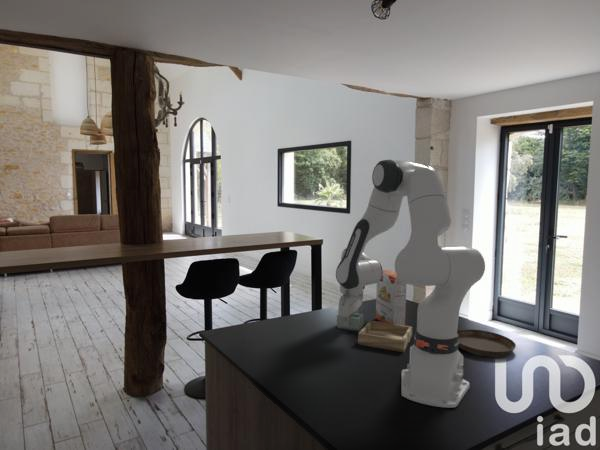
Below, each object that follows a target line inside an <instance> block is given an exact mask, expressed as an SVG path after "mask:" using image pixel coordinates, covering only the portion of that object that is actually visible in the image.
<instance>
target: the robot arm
mask: <svg viewBox="0 0 600 450" xmlns="http://www.w3.org/2000/svg"><path fill="white" fill-rule="evenodd" d="M371 177H372V178H371V179H372V185H373V189H372V191H371V194H370V197H369V201H368V206H367V208H366V209H365V212H364V214H363V215H362V217H361V218H360V219H359V221H357V222H356V224H355V226H354V228H353V230H352V233H351V235H350V237H349V238H350V239H349V241H348V243H347V246H346V248H344V249H343V250H342V252H341V255H340V256H341V257H340V262H339V263H338V264H337V267H336V271H335V279H336V281H337V282H338V284H339V292H340V293H341V294H342V295H341V296H340V297H339V301H338V309H337V310H338V311H337V312H338V314H337V315H339V317H343V321H344V326H346V327H348V326H349V316H350V315H351V314H352V313H356V314H358V311H359V308H360V307H361V306H362V304H363V298H364V290H365V287H366V286H368V285H374V284H377V283H378V282H379V281H380V280H381V278H382V274H383V270H384V269H383V267H382V265H381V263H380V261H378V260H377V259H375V258H372V257H371V256H369V255H368V254H366V253H365V252H364V251H365V248H366V246H367V244H368V243H369V241H371V240H372V239H373V238H375V237H376V236H379V235H381V234H382V233H385V232H387V231H389V230H390V229H392V228H393V227H394V226H395V224H396V222H397V220H398V217H399V215H400V211H401V206H402V201H403V199H404V197H406V198H407V205H408V209H409V210H408V212H409V217H410V226H411V227H410V228H411V230H410V231H411V233H410V237H409V240H408V242H407V244H406V245H405V246H404V247H403V248H402V249H401V250H400V251H399V253H398V254H397V255H396V258H395V260H394V272H395V273H396V274H397V276H398V278H399V279H400V280H401V281H402V282H403V283H405V284H406V285H411V286H416V287H417V286H418V287H425V286H426V287H427V286H428V287H431V286H432V287H434V289H433V291H432V292H430V294H429V295H428V296H425V297H424V298H422V300H420V302H419V303H418V305H417V315H416V329H415V331H414V337H413V338H414V342H413V345H411V346H410V347H409V363H406V368H405V369H402V370H401V375H400V377H401V378H400V379H401V381H400V384H401V386H400V387H401V389H400V390H401V394H400V395H401V396H402V397H404V398H406V399H407V400H410V401H412V402H416V403H418V404H419V403H420V404H423V405H427V406H432V407H437V408H438V407H439V408H449V409H450V408H456V407H457V406H459V404H460V402H461V400H462V399H463V398H464V396H465V395H466V393H467V392H468V390H469V389H470V387H471V386H470V385H471V384H470V382H469V381H468V380H466V379H464V368H465V367H464V355H463V354H462V353H461V352H460V351H459V346H458V345H459V335H458V334H457V330H459V329H458V328H459V327H458V326H459V317H460V316H459V315H460V310H461V306H462V303H463V301H464V299H465V297H466V295H467V293H468V292H469V290H470V289H471V288H472V287H473V286H474V285H475V284H476V283H477V282H479V281H481V279H482V278H483V276H484V273H485V271H486V261H485V259H484V256H483V255H482V254H481V252H480V251H479V250H478V249H477V248H472V247H468V246H467V247H466V246H463V245H462V246H461V245H453V246H452V245H451V246H449V245H448V246H447V245H445V246H443V245H442V246H440V245H439V237H440V236H441V235H443V234H444V233H446V232H447V231H448V230H449V229H450V226H451V224H452V218H451V212H450V208H449V205H448V199H447V195H446V192H445V188H444V185H443V182H442V180H441V177H440V176H439V174H438V171H437V169H436V168H434V167H433V166H430V165H428V164H422V163H421V164H420V163H416V162H413V161H412V162H411V161H408V160H392V159H383V160H379V162H377V163H376V165H375V166H374V168H373V170H372V176H371Z"/></svg>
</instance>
